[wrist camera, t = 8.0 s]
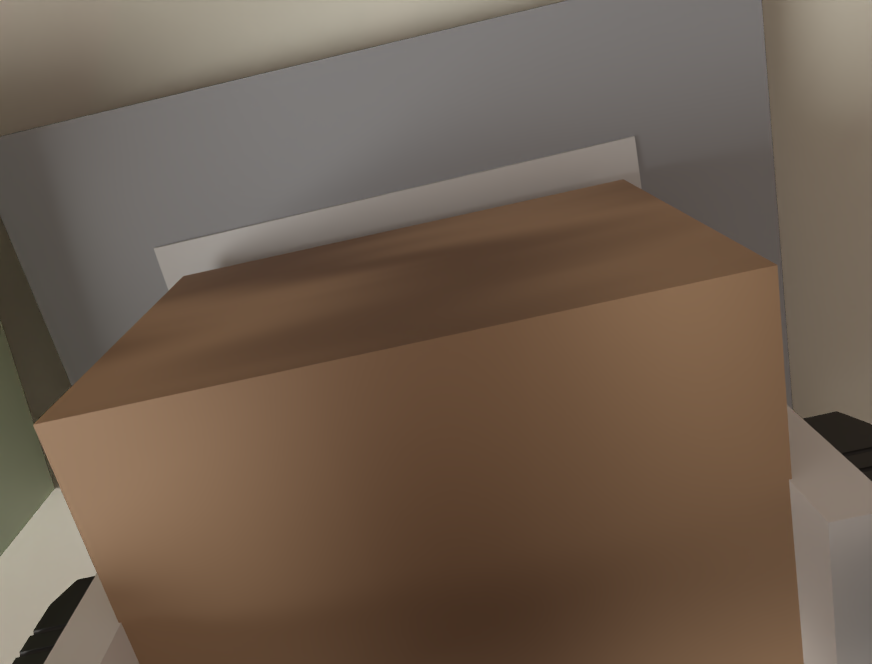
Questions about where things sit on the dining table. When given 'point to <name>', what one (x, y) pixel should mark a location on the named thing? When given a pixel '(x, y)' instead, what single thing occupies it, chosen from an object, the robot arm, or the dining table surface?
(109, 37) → the dining table surface
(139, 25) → the dining table surface
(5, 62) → the dining table surface
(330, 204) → the plate
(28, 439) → the green block
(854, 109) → the dining table surface
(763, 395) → the walnut block
